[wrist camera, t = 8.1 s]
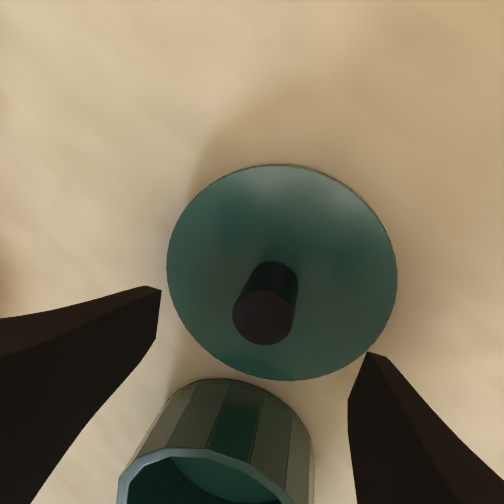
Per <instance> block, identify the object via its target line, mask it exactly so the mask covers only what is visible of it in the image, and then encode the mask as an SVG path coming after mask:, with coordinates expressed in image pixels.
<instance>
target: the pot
mask: <svg viewBox="0 0 504 504" xmlns="http://www.w3.org/2000/svg"><path fill="white" fill-rule="evenodd" d="M116 504H314V462H313V449H312V445H311V440H310V438H309V435H308V433H307V431H306V429H305V427H304V425H303V424H302V422H301V421H300V419H299V418H298V417H297V416H296V414H295V413H294V412H293V411H292V410H291V409H290V408H289V407H288V406H287V405H286V404H284V403H283V402H282V401H281V400H279V399H278V398H276V397H275V396H273V395H272V394H270V393H268V392H266V391H264V390H262V389H261V388H258V387H256V386H253V385H250V384H247V383H244V382H240V381H235V380H228V379H209V380H202V381H198V382H195V383H192V384H189V385H187V386H185V387H183V388H181V389H180V390H178V391H177V392H176V393H174V394H173V395H172V397H171V398H170V399H169V400H168V401H167V403H166V404H165V406H164V407H163V408H162V410H161V411H160V412H159V414H158V415H157V417H156V418H155V420H154V422H153V423H152V425H151V427H150V428H149V430H148V432H147V433H146V435H145V436H144V438H143V440H142V441H141V443H140V445H139V446H138V448H137V449H136V451H135V453H134V454H133V456H132V458H131V459H130V461H129V462H128V464H127V466H126V467H125V469H124V471H123V472H122V474H121V476H120V477H119V482H118V493H117V503H116Z"/></svg>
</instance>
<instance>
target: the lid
mask: <svg viewBox="0 0 504 504" xmlns="http://www.w3.org/2000/svg"><path fill="white" fill-rule="evenodd" d="M166 269H167V281H168V286H169V291H170V295H171V298H172V301H173V304H174V307H175V309H176V311H177V313H178V315H179V317H180V319H181V321H182V322H183V324H184V325H185V327H186V329H187V330H188V331H189V332H190V334H191V335H192V336H193V337H194V339H195V340H196V341H197V342H198V343H199V344H200V345H201V346H202V347H203V348H204V349H205V350H207V351H208V352H209V353H210V354H212V355H213V356H214V357H215V358H217V359H219V360H220V361H222V362H223V363H225V364H226V365H228V366H230V367H232V368H234V369H236V370H239V371H241V372H244V373H246V374H249V375H252V376H256V377H260V378H264V379H271V380H281V381H296V380H306V379H312V378H317V377H320V376H323V375H327V374H330V373H332V372H334V371H337V370H339V369H341V368H343V367H345V366H347V365H348V364H350V363H351V362H353V361H355V360H356V359H357V358H358V357H360V356H361V355H362V354H363V353H365V352H366V351H367V350H368V349H369V347H370V346H371V345H372V344H373V343H374V342H375V341H376V340H377V338H378V337H379V335H380V334H381V332H382V331H383V330H384V328H385V326H386V324H387V322H388V320H389V318H390V315H391V312H392V309H393V306H394V303H395V298H396V292H397V266H396V259H395V255H394V251H393V248H392V244H391V241H390V239H389V237H388V235H387V233H386V231H385V228H384V226H383V225H382V223H381V222H380V220H379V219H378V217H377V216H376V214H375V213H374V212H373V211H372V209H371V208H370V207H369V206H368V205H367V204H366V203H365V202H364V200H363V199H362V198H360V197H359V196H358V195H357V194H356V193H355V192H353V191H352V190H351V189H350V188H348V187H347V186H345V185H344V184H342V183H341V182H339V181H337V180H336V179H334V178H332V177H329V176H327V175H325V174H323V173H321V172H318V171H314V170H311V169H308V168H305V167H299V166H292V165H278V164H270V165H261V166H254V167H250V168H246V169H242V170H238V171H236V172H233V173H231V174H228V175H226V176H223V177H222V178H220V179H218V180H217V181H215V182H213V183H212V184H210V185H209V186H207V187H206V188H205V189H204V190H202V191H201V192H200V193H199V194H198V195H197V196H196V197H195V198H194V199H193V200H192V201H191V202H190V203H189V204H188V206H187V207H186V209H185V210H184V211H183V213H182V214H181V216H180V218H179V220H178V222H177V224H176V225H175V227H174V230H173V233H172V236H171V239H170V242H169V248H168V253H167V266H166Z"/></svg>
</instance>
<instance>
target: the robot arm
mask: <svg viewBox="0 0 504 504" xmlns="http://www.w3.org/2000/svg"><path fill="white" fill-rule="evenodd" d="M161 292H162V290H159V289H156V288H153V287H149V286H141V287H137V288H133V289H129V290H126V291H122V292H119V293H115V294H112V295H108V296H105V297H101V298H98V299H95V300H91V301H87V302H83V303H79V304H75V305H71V306H67V307H63V308H59V309H54V310H50V311H45V312H40V313H34V314H28V315H22V316H16V317H8V318H0V504H31V502H32V501H33V499H34V498H35V496H36V495H37V493H38V491H39V490H40V489H41V487H42V486H43V484H44V483H45V481H46V480H47V479H48V477H49V476H50V474H51V473H52V471H53V470H54V468H55V467H56V466H57V464H58V463H59V461H60V460H61V458H62V457H63V456H64V454H65V453H66V451H67V450H68V449H69V447H70V446H71V444H72V443H73V442H74V440H75V439H76V438H77V436H78V435H79V433H80V432H81V431H82V429H83V428H84V427H85V425H86V424H87V423H88V422H89V420H90V419H91V418H92V417H93V416H94V414H95V413H96V412H97V411H98V410H99V409H100V407H101V406H102V405H103V404H104V403H105V402H106V401H107V400H108V398H109V397H110V396H111V395H112V394H113V393H114V392H115V390H116V389H117V388H118V387H119V386H120V385H121V384H122V383H123V381H124V380H125V379H126V378H127V377H128V376H129V375H130V373H131V372H132V371H133V370H134V369H135V368H136V366H137V365H138V364H139V363H140V362H141V360H142V359H143V357H144V356H145V354H146V353H147V351H148V350H149V348H150V347H151V345H152V344H153V342H154V340H155V339H156V331H157V324H158V316H159V308H160V300H161ZM348 437H349V445H350V452H351V460H352V467H353V475H354V482H355V489H356V497H357V504H504V480H503V479H502V478H500V477H499V476H498V475H497V474H496V473H495V472H494V471H493V470H492V469H491V468H490V467H488V466H487V465H486V464H485V463H484V462H483V461H482V460H481V459H480V458H479V457H478V456H477V455H476V454H475V453H473V452H472V451H471V450H470V449H469V448H468V447H467V446H466V445H465V444H464V443H463V442H462V441H461V440H460V439H459V438H458V437H457V436H456V434H455V433H454V432H453V431H452V430H451V429H450V428H449V427H448V426H447V425H446V424H445V423H444V422H443V421H442V420H441V419H440V418H439V416H438V415H437V414H436V413H435V412H434V411H433V410H432V409H431V408H430V406H429V405H428V404H427V403H426V402H425V401H424V400H423V398H422V397H421V396H420V395H419V394H418V393H417V391H416V390H415V389H414V388H413V387H412V386H411V384H410V383H409V382H408V381H407V380H406V379H405V377H404V376H403V375H402V374H401V373H400V371H399V370H398V369H397V368H396V367H395V366H394V365H393V363H392V362H391V361H390V360H389V359H388V358H387V357H385V356H381V355H378V354H375V353H371V352H368V351H367V353H366V356H365V358H364V361H363V363H362V366H361V368H360V371H359V373H358V376H357V378H356V381H355V383H354V386H353V388H352V391H351V393H350V395H349V398H348Z"/></svg>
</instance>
